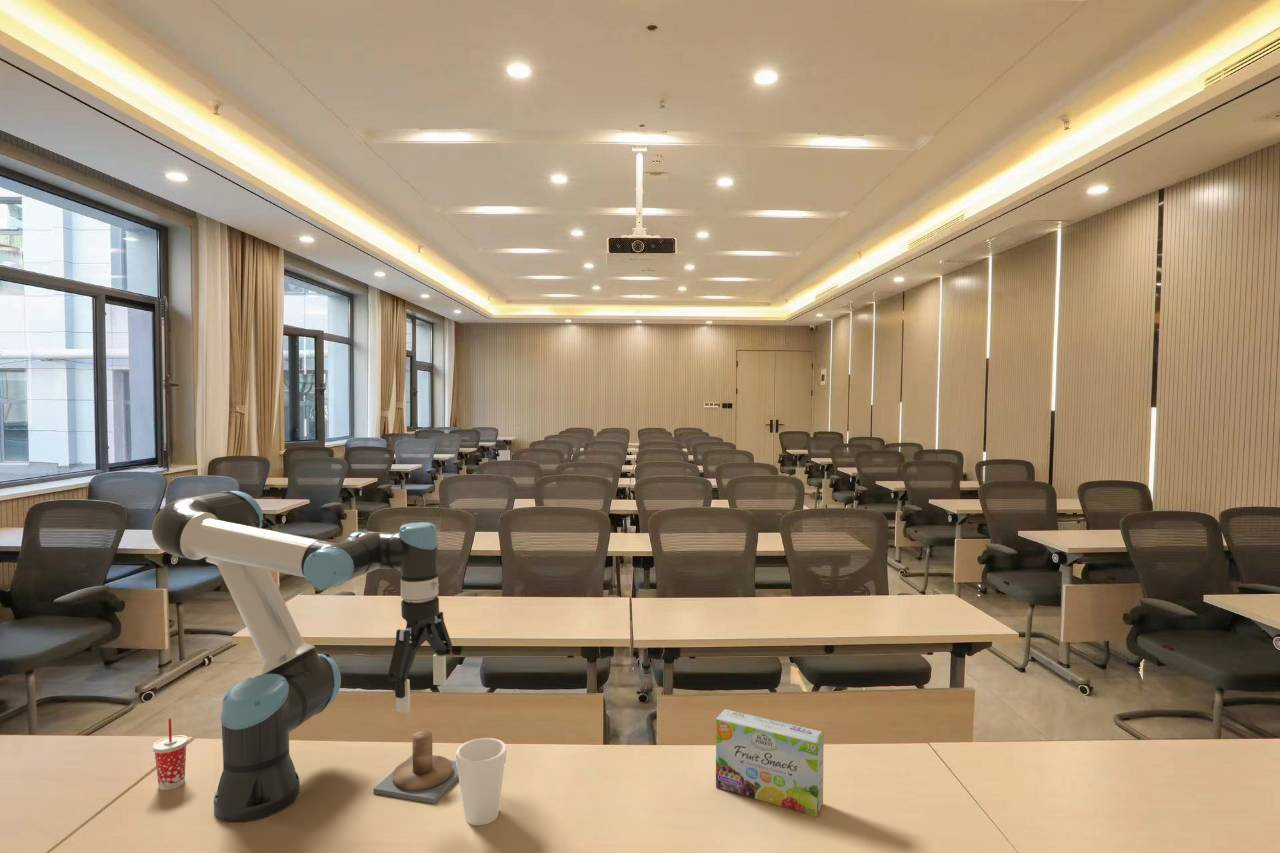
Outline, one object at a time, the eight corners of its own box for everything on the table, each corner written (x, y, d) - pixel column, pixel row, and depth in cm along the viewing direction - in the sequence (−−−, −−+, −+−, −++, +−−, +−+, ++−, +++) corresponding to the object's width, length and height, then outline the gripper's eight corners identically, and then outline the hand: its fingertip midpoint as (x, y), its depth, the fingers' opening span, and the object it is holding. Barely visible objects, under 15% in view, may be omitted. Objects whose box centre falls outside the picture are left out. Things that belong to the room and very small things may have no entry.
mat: (373, 793, 142) (373, 788, 142) (412, 759, 156) (412, 754, 156) (434, 803, 138) (434, 798, 138) (469, 767, 152) (469, 763, 152)
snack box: (714, 789, 144) (714, 718, 143) (724, 776, 148) (724, 707, 148) (817, 818, 134) (818, 741, 133) (824, 803, 139) (825, 729, 138)
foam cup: (512, 802, 139) (512, 739, 138) (498, 831, 130) (497, 763, 129) (466, 800, 140) (465, 736, 139) (449, 828, 130) (448, 760, 130)
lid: (380, 786, 143) (379, 745, 142) (414, 757, 154) (413, 719, 154) (432, 795, 140) (431, 752, 139) (462, 764, 151) (462, 725, 151)
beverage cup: (186, 788, 144) (184, 721, 144) (151, 795, 142) (149, 727, 141) (191, 773, 150) (189, 709, 149) (156, 780, 147) (155, 715, 146)
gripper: (400, 617, 132) (403, 726, 133) (466, 583, 156) (468, 676, 157) (366, 614, 134) (369, 722, 135) (436, 581, 158) (438, 673, 159)
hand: (422, 697), depth 146 cm, fingers open, 13 cm apart
